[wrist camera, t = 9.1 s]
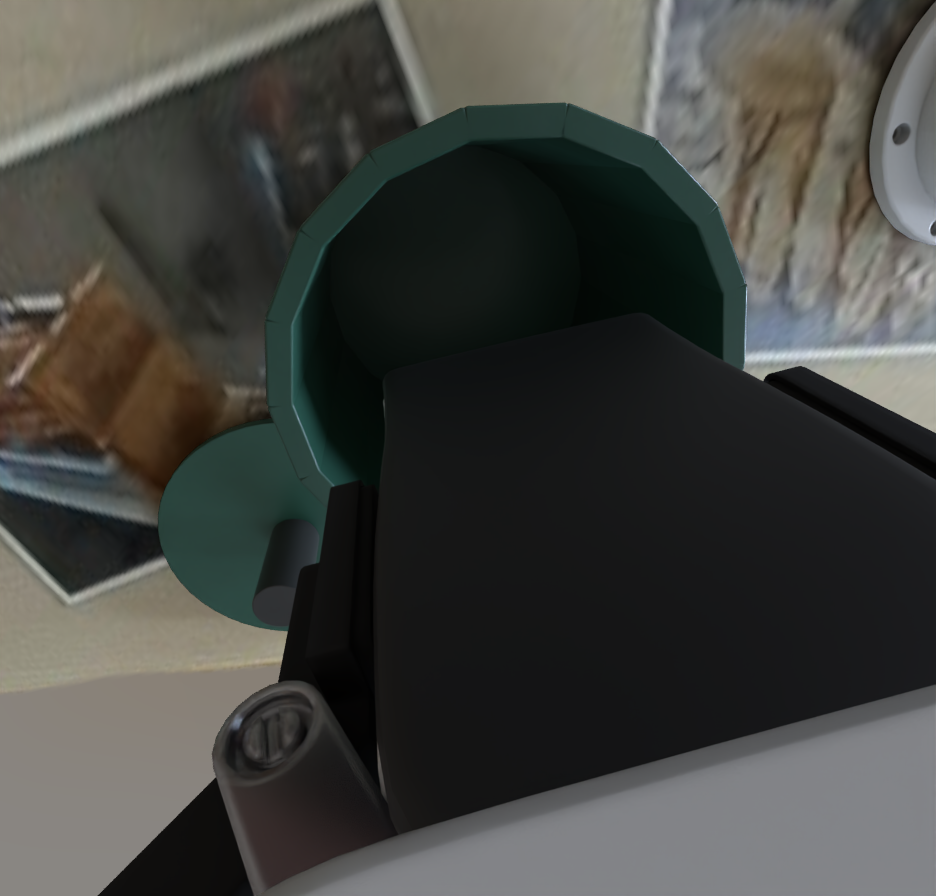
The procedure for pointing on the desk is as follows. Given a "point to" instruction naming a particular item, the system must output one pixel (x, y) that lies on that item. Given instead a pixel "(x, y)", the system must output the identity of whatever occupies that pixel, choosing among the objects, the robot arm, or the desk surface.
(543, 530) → the battery charger
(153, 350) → the desk surface
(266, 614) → the lid
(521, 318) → the tin
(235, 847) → the robot arm
